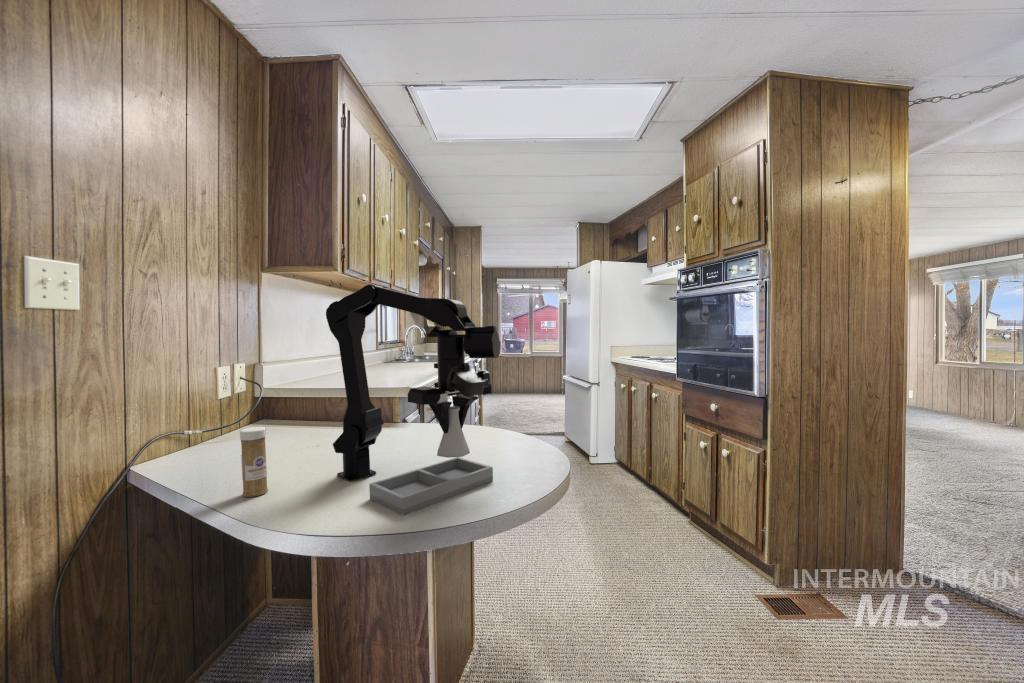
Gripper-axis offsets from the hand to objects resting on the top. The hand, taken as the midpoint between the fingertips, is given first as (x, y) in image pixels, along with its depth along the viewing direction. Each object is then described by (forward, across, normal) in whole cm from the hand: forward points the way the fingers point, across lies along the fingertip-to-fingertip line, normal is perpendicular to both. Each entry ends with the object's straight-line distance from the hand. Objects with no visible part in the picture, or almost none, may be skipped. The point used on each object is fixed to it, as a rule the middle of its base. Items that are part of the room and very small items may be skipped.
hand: (452, 431), depth 93 cm
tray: (+11, -5, 0) cm, 12 cm away
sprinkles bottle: (+11, -30, +27) cm, 42 cm away
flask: (+5, 0, 0) cm, 5 cm away
